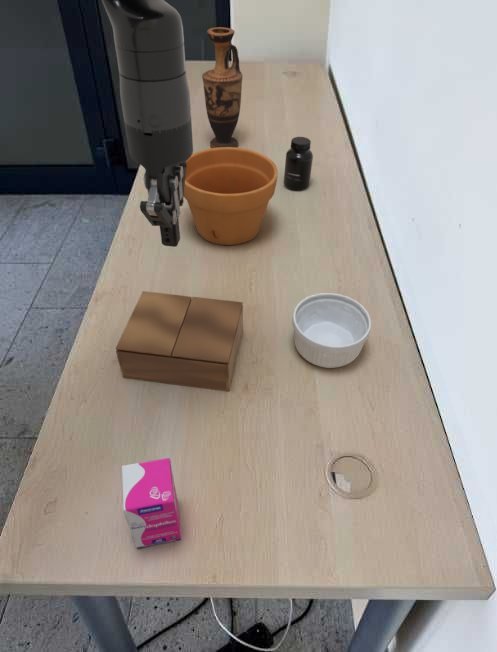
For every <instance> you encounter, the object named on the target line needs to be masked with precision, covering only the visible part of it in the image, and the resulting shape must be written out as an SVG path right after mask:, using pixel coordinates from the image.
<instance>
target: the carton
mask: <svg viewBox="0 0 497 652" xmlns="http://www.w3.org/2000/svg"><path fill="white" fill-rule="evenodd" d="M191 297H192V299H191V301H190V304H189V307H188V310H187V313H186V315H185V318H184V321H183V324H182V326H181V329H180V332H179V335H178V338H177V340H176V343H175V346H174V349H173V351H172V354H171V356H164V355H156V354H148V353H140V352H133V351H125V350H117V349H115V353H116V354H115V355H116V358H117V362H118V365H119V369H120V372H121V375H122V376H121V377H122V378H123V379H132V380H138V381H139V380H140V381H147V382H155V383H162V384H167V385H169V384H170V385H177V386H184V387H193V388H200V389H208V390H214V391H222V392H230V391H231V390H230V389H231V384H232V380H233V376H234V372H235V367H236V364H237V358H238V355H239V350H240V345H241V342H242V338H243V337H242V336H243V333H244V304H243V301H234V300H226V299H218V298H207V297H200V296H199V297H198V296H191Z"/></svg>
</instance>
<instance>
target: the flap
mask: <svg viewBox="0 0 497 652" xmlns="http://www.w3.org/2000/svg"><path fill="white" fill-rule="evenodd" d="M192 297H193V296H188V295H179V294H171V293H161V292H155V291H145V290H142V291H141V294H140V295H139V298H138V300H137V302H136V304H135V306H134V308H133V311H132V313H131V314H130V317H129V319H128V322H127V324H126V325H125V328H124V330H123V331H122V334H121V335H120V338H119V340H118V342H117V345H116V346H115V350H125V351H133V352H140V353H148V354H156V355H164V356H171V354H172V351H173V349H174V346H175V343H176V340H177V338H178V335H179V332H180V329H181V326H182V324H183V321H184V318H185V315H186V313H187V310H188V307H189V304H190V301H191V299H192Z"/></svg>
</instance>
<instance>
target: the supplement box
mask: <svg viewBox="0 0 497 652" xmlns="http://www.w3.org/2000/svg"><path fill="white" fill-rule="evenodd" d="M121 488H122V509H123V513H124V517H125V519H126V522H127V525H128V527H129V530H130V533H131V536H132V539H133V542H134V544H135V548H136V549H142V548H145V547H149V546H155V545H160V544H165V543H171V542H177V541H181V540H182V530H181V519H180V510H179V502H178V496H177V490H176V483H175V477H174V473H173V468H172V462H171V458H169V457H165V458H159V459H153V460H148V461H143V462H142V461H141V462H136V463H131V464H124V465H121Z"/></svg>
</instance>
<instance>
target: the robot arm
mask: <svg viewBox="0 0 497 652" xmlns="http://www.w3.org/2000/svg"><path fill="white" fill-rule="evenodd" d="M101 2H102V5H103V7H104V9H105V12H106V15H107V16H108V19H109V22H110V24H111V28H112V33H113V42H114V48H115V56H116V63H117V68H118V69H117V70H118V74H119V76H118V77H119V96H120V104H121V111H122V116H123V123H124V130H125V135H126V136H125V137H126V143H127V148H128V154H129V157H130V158H131V160H133V161H134V162H135V163H136V164H139V165H140V166H141V167H142V168H144V170H145V171H144V174H143V184H144V188H145V189H146V190H147V200H141V201H140V203H139V210H140V212H141V213H142V214H143V216H144V217H145V218H146V220H147V221H148V223H150V225H151V226H153V227H159V232H160V240H161V244H162V245H163V246H165V247H172V248H176V247H178V245H179V244H180V243H179V242H180V241H181V232H180V222H179V218H180V215H181V207H183V205H184V198H185V197H184V186H185V176H186V167H187V163H186V160H188V159H189V158H190V157H191V155H192V154H194V143H193V141H194V140H193V126H192V125H193V124H192V112H191V111H192V110H191V109H192V108H191V95H190V88H189V82H188V76H187V69H186V68H187V67H186V49H185V36H184V26H183V20H182V16H181V14H180V13H179V12H178V10H177V9H176V8H175V7H173V6H172V5H170V4H169V3H168V2H167V1H165V0H101Z"/></svg>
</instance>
